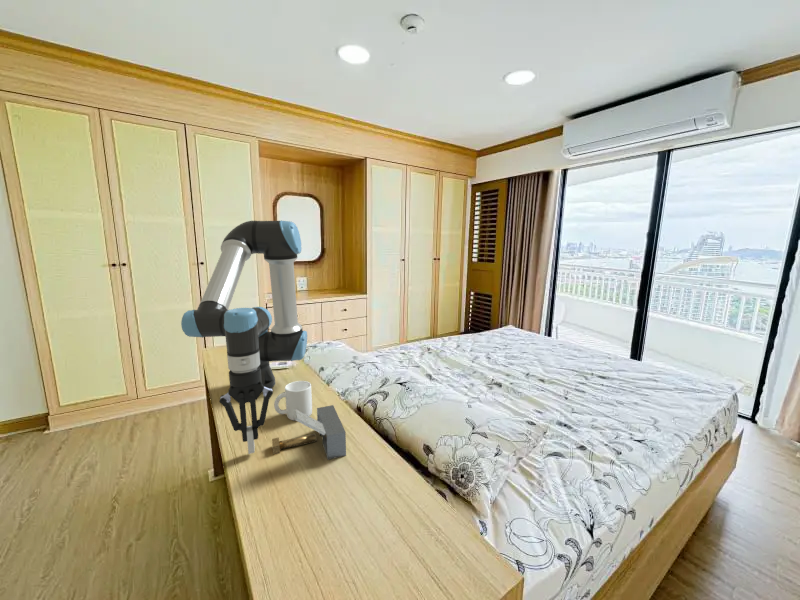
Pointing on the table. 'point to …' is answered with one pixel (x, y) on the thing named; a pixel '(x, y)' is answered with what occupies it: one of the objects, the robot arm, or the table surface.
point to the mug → (296, 399)
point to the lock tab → (309, 422)
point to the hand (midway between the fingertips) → (251, 450)
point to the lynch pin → (291, 442)
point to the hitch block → (332, 432)
